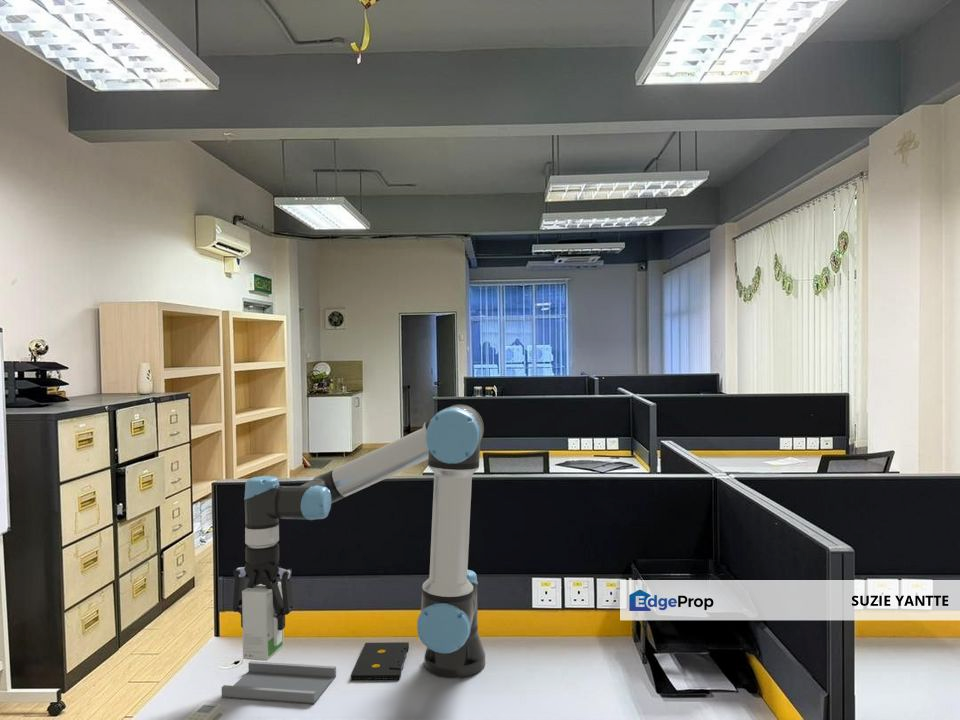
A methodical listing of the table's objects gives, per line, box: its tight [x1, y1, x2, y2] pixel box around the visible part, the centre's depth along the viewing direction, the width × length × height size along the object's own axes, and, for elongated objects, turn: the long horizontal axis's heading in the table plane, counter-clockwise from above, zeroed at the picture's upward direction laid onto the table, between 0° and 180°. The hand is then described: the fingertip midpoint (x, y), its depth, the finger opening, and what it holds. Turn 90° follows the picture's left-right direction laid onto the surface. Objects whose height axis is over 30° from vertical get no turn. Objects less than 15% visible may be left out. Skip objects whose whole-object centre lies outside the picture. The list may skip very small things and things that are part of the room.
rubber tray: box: [221, 660, 337, 706], centre depth 154 cm, size 22×13×2 cm, turn 81°
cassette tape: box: [350, 641, 410, 682], centre depth 165 cm, size 18×12×2 cm, turn 179°
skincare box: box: [242, 581, 285, 662], centre depth 154 cm, size 8×7×16 cm
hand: (263, 642), depth 154 cm, fingers closed on skincare box, 6 cm apart
